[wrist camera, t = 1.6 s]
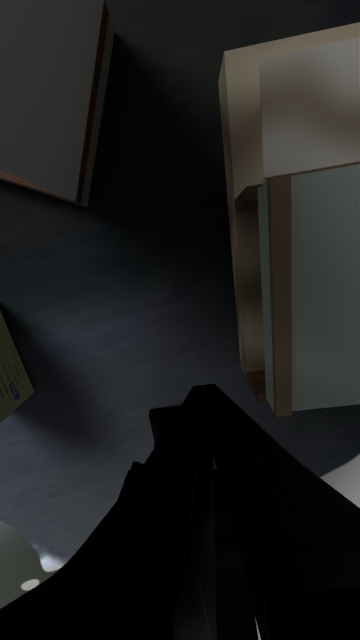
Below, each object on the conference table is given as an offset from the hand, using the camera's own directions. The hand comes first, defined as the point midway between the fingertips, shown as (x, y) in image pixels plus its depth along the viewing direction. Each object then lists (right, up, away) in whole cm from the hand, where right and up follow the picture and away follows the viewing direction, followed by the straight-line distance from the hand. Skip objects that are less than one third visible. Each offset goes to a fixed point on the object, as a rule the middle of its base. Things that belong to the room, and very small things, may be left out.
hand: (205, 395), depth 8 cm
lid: (+9, +4, +6) cm, 12 cm away
